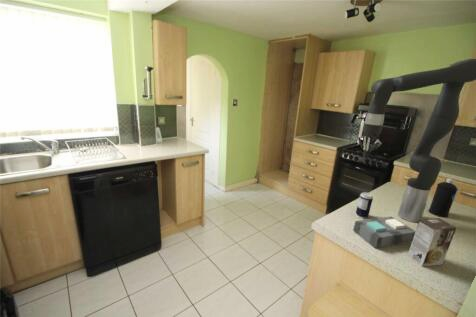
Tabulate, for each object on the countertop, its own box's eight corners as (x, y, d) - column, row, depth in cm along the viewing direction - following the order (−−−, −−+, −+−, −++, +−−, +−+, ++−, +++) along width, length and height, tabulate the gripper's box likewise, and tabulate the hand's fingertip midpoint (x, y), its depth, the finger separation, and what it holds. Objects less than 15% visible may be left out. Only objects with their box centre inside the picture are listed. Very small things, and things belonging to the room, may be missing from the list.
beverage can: (369, 219, 111) (375, 197, 108) (357, 217, 112) (362, 196, 109) (365, 213, 116) (371, 192, 113) (354, 212, 117) (359, 191, 114)
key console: (388, 225, 107) (391, 216, 105) (413, 241, 96) (416, 231, 94) (353, 230, 101) (355, 221, 100) (375, 248, 90) (378, 237, 89)
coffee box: (426, 253, 89) (439, 217, 85) (442, 265, 83) (457, 227, 79) (406, 254, 88) (418, 218, 83) (422, 267, 82) (436, 229, 77)
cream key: (392, 227, 102) (394, 218, 101) (402, 234, 98) (405, 225, 97) (383, 228, 101) (385, 219, 100) (393, 235, 97) (396, 226, 95)
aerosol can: (431, 215, 119) (443, 180, 113) (425, 208, 126) (437, 175, 120) (450, 219, 116) (464, 183, 110) (444, 211, 123) (456, 177, 117)
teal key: (373, 230, 100) (376, 221, 98) (383, 237, 95) (386, 227, 94) (364, 231, 98) (366, 222, 97) (374, 238, 94) (376, 229, 92)
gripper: (392, 125, 103) (382, 161, 108) (368, 121, 115) (361, 153, 120) (379, 125, 101) (370, 162, 106) (356, 121, 113) (349, 154, 118)
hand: (365, 157), depth 113 cm, fingers closed
